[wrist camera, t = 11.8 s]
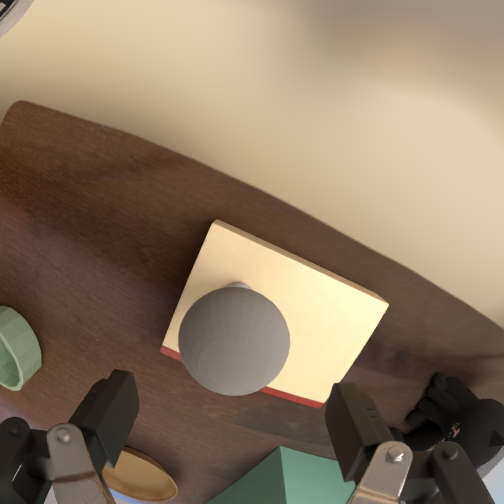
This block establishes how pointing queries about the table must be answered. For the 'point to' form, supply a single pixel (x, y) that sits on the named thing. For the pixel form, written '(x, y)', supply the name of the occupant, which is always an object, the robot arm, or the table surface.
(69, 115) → the table surface
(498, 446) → the figurine
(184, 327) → the light bulb
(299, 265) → the book
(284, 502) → the box
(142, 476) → the plant saucer
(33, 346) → the bowl
